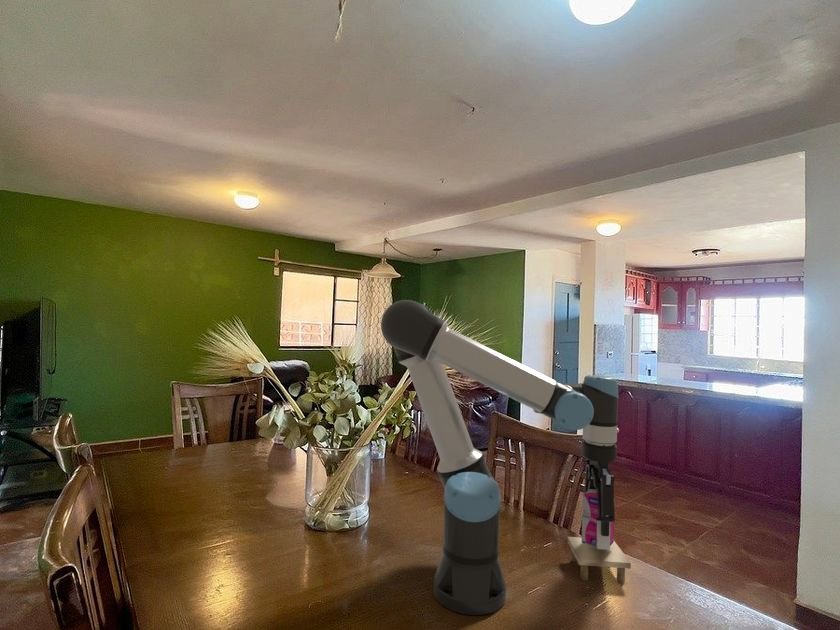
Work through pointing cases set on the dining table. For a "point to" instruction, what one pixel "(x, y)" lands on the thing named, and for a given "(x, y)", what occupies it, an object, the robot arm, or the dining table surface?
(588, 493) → the supplement box
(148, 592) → the dining table surface
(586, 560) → the footstool
